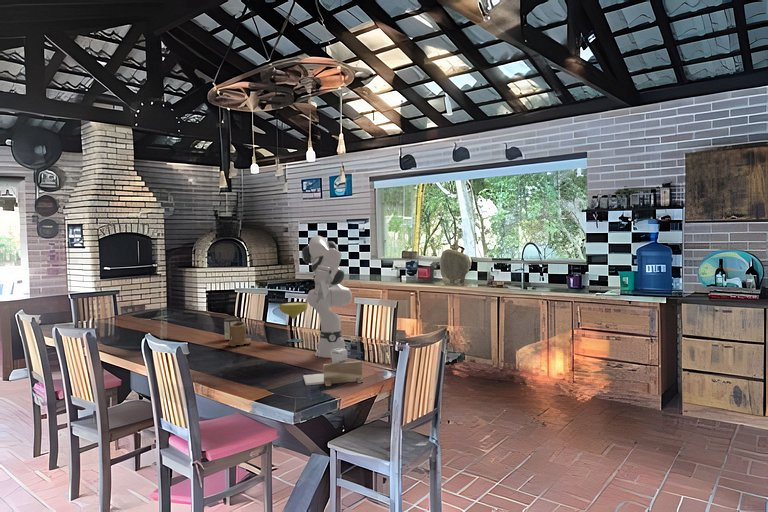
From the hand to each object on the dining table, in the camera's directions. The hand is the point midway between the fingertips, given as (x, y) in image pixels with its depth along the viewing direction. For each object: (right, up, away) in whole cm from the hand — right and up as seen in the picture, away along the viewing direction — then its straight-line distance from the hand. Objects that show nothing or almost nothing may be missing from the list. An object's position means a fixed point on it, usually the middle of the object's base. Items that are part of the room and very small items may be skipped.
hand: (316, 298), depth 260 cm
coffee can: (-68, -35, +91) cm, 119 cm away
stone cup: (-58, -36, +72) cm, 99 cm away
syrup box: (+12, -38, -10) cm, 42 cm away
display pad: (+1, -38, -11) cm, 40 cm away
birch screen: (+15, -38, -16) cm, 44 cm away
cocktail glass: (-24, -35, +80) cm, 90 cm away
